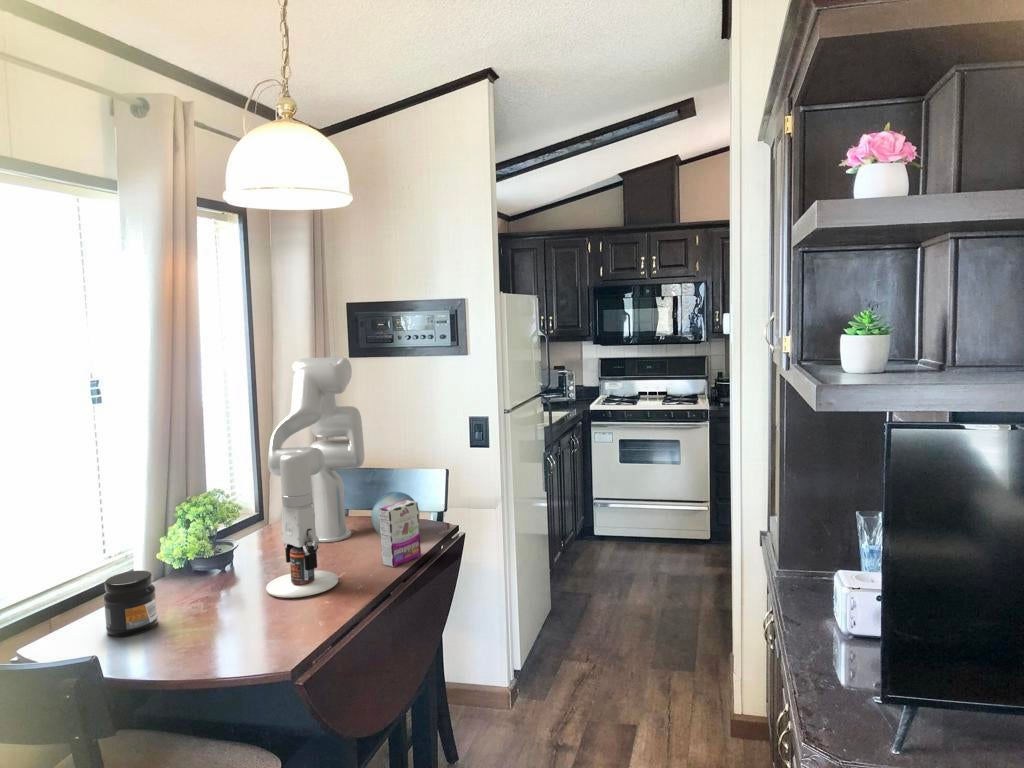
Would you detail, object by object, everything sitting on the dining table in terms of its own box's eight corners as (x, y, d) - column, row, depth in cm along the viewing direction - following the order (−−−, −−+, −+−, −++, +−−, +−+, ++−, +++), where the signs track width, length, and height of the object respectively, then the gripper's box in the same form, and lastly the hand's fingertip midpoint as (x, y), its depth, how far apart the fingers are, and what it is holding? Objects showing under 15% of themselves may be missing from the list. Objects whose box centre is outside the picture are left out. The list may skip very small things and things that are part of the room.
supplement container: (164, 627, 163) (160, 576, 162) (113, 642, 156) (109, 589, 155) (150, 615, 171) (146, 566, 170) (100, 629, 164) (96, 578, 163)
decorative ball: (426, 532, 232) (423, 486, 231) (413, 546, 217) (410, 498, 216) (381, 532, 234) (379, 487, 233) (365, 546, 219) (363, 498, 218)
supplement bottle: (286, 583, 185) (284, 541, 184) (302, 576, 190) (301, 534, 189) (303, 587, 182) (301, 544, 181) (319, 579, 187) (317, 537, 186)
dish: (254, 588, 186) (253, 584, 186) (315, 570, 199) (315, 565, 199) (288, 605, 173) (287, 600, 173) (351, 584, 186) (351, 580, 186)
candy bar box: (409, 554, 210) (406, 499, 209) (421, 556, 207) (418, 501, 206) (380, 565, 201) (377, 507, 200) (393, 568, 198) (390, 510, 197)
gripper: (268, 498, 188) (272, 562, 189) (301, 508, 176) (305, 576, 177) (294, 493, 193) (298, 554, 194) (328, 502, 181) (332, 568, 182)
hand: (301, 565), depth 186 cm, fingers open, 9 cm apart
